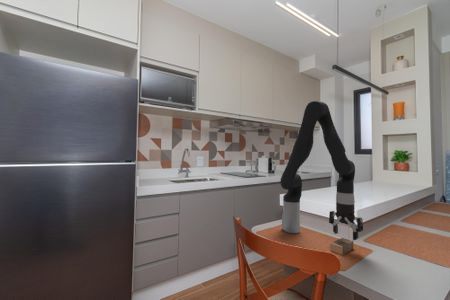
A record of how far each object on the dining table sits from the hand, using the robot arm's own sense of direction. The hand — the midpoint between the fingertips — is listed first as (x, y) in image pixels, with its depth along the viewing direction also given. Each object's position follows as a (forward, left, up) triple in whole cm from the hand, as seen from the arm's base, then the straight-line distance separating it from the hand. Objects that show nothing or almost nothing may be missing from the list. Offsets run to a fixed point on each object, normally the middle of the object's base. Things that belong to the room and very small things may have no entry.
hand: (345, 236), depth 97 cm
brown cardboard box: (0, +3, -4) cm, 5 cm away
